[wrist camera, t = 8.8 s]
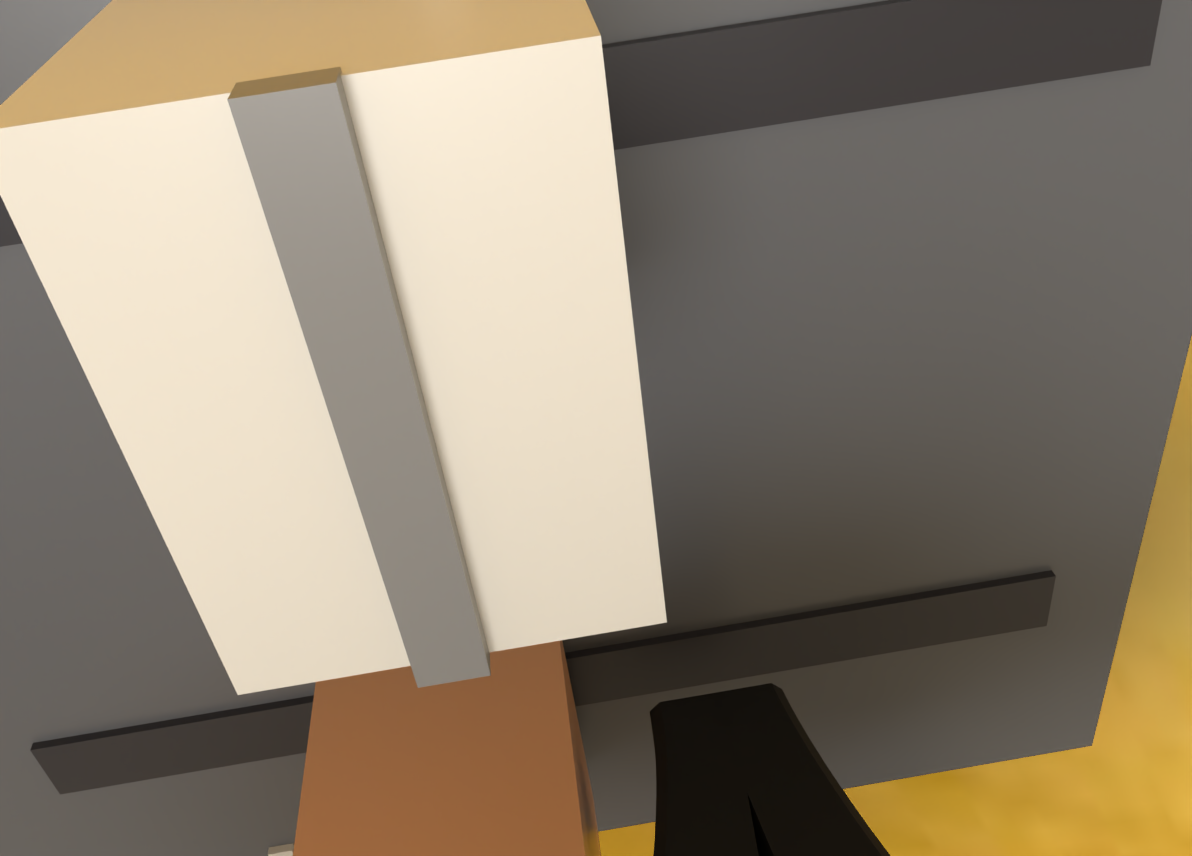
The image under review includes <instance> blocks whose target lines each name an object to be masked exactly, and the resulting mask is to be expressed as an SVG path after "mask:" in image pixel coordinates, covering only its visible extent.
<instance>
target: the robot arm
mask: <svg viewBox="0 0 1192 856" xmlns="http://www.w3.org/2000/svg"><path fill="white" fill-rule="evenodd" d="M650 719H651V726H652V734H653V741H654V748H655V760H656V824H655V844H654V856H890V855H889V853H888V852H887V851H886V849H885V848H884V847H883V845H882V844H881V843H880V841H879V840H878V839H877V837H876V836H875V835H874V833H873V832H872V831H871V829H870V828H869V827H868V825H867V824H866V822H865V821H864V820H863V818H862V817H861V815H860V814H859V812H858V811H857V810H856V808H855V807H854V805H853V804H852V803H851V801H850V800H849V798H848V797H847V795H846V794H845V792H844V791H843V789H842V788H841V786H840V785H839V783H838V782H837V780H836V779H835V777H834V776H833V774H832V773H831V771H830V770H829V768H828V767H827V765H826V764H825V762H824V761H823V759H822V757H821V756H820V754H819V753H818V751H817V750H816V748H815V746H814V745H813V743H812V742H811V740H810V738H809V737H808V735H807V733H806V732H805V730H804V728H803V727H802V725H801V723H800V721H799V720H798V718H797V716H796V714H795V713H794V711H793V709H792V707H791V705H790V703H789V702H788V700H787V698H786V696H785V694H784V692H783V690H782V689H781V688H779V687H778V686H776V685H774V684H772V683H768V684H762V685H757V686H751V687H745V688H739V689H733V690H727V691H722V692H716V693H710V694H704V695H698V696H692V697H687V698H681V699H675V700H669V701H663V702H659V703H658V704H657V705H656V706H655V707H654V708H653V709H652V710H651V711H650Z"/></svg>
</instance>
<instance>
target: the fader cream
mask: <svg viewBox="0 0 1192 856" xmlns="http://www.w3.org/2000/svg"><path fill="white" fill-rule="evenodd" d="M0 196H1V198H2V200H3V202H4V204H5V206H6V208H7V210H8V212H9V215H10V217H11V219H12V221H13V223H14V225H15V227H16V229H17V231H18V234H19V236H20V238H21V240H22V242H23V244H24V246H25V248H26V250H27V252H28V255H29V257H30V259H31V261H32V263H33V265H34V267H35V269H36V271H37V274H38V276H39V278H40V280H41V282H42V284H43V286H44V288H45V290H46V292H47V295H48V297H49V299H50V301H51V303H52V305H53V307H54V309H55V311H56V313H57V316H58V318H59V320H60V322H61V324H62V326H63V328H64V330H65V332H66V335H67V337H68V339H69V341H70V343H71V345H72V347H73V349H74V351H75V353H76V356H77V358H78V360H79V362H80V364H81V366H82V368H83V370H84V372H85V375H86V377H87V379H88V381H89V383H90V385H91V387H92V389H93V391H94V393H95V396H96V398H97V400H98V402H99V404H100V406H101V408H102V410H103V412H104V415H105V417H106V419H107V421H108V423H109V425H110V427H111V429H112V431H113V433H114V436H115V438H116V440H117V442H118V444H119V446H120V448H121V450H122V452H123V455H124V457H125V459H126V461H127V463H128V465H129V467H130V469H131V471H132V473H133V476H134V478H135V480H136V482H137V484H138V486H139V488H140V490H141V492H142V495H143V497H144V499H145V501H146V503H147V505H148V507H149V509H150V511H151V513H152V516H153V518H154V520H155V522H156V524H157V526H158V528H159V530H160V532H161V534H162V537H163V539H164V541H165V543H166V545H167V547H168V549H169V551H170V553H171V556H172V558H173V560H174V562H175V564H176V566H177V568H178V570H179V572H180V574H181V577H182V579H183V581H184V583H185V585H186V587H187V589H188V591H189V593H190V596H191V598H192V600H193V602H194V604H195V606H196V608H197V610H198V612H199V614H200V617H201V619H202V621H203V623H204V625H205V627H206V629H207V631H208V633H209V636H210V638H211V640H212V642H213V644H214V646H215V648H216V650H217V652H218V654H219V657H220V659H221V661H222V663H223V665H224V667H225V669H226V671H227V673H228V676H229V678H230V680H231V682H232V684H233V686H234V688H235V690H236V692H237V694H238V695H241V694H247V693H253V692H259V691H265V690H271V689H277V688H283V687H289V686H295V685H300V684H306V683H312V682H318V681H324V680H330V679H336V678H342V677H348V676H354V675H359V674H365V673H371V672H377V671H383V670H389V669H395V668H401V667H407V666H411V668H412V671H413V674H414V678H415V681H416V684H417V687H418V688H420V687H426V686H432V685H438V684H444V683H450V682H456V681H461V680H467V679H473V678H479V677H485V676H491V670H490V652H495V651H501V650H507V649H513V648H519V647H525V646H531V645H537V644H543V643H549V642H554V641H560V640H566V639H572V638H578V637H584V636H590V635H596V634H602V633H608V632H613V631H619V630H625V629H631V628H637V627H643V626H649V625H655V624H661V623H667V618H666V610H665V601H664V592H663V583H662V574H661V565H660V556H659V547H658V539H657V530H656V521H655V512H654V503H653V494H652V485H651V476H650V467H649V459H648V450H647V441H646V432H645V423H644V414H643V405H642V396H641V388H640V379H639V370H638V361H637V352H636V343H635V334H634V325H633V316H632V308H631V299H630V290H629V281H628V272H627V263H626V254H625V245H624V237H623V228H622V219H621V210H620V201H619V192H618V183H617V174H616V165H615V157H614V148H613V139H612V130H611V121H610V112H609V103H608V94H607V86H606V77H605V68H604V59H603V50H602V41H601V35H600V32H599V30H598V28H597V26H596V23H595V21H594V19H593V16H592V14H591V12H590V10H589V7H588V5H587V3H586V1H585V0H112V1H111V2H110V3H109V4H108V5H107V6H106V7H105V8H104V9H102V10H101V11H100V12H99V13H98V14H97V15H96V16H95V17H94V18H93V19H92V20H91V21H90V22H89V23H88V24H86V25H85V26H84V27H83V28H82V29H81V30H80V31H79V32H78V33H77V34H76V35H75V36H74V37H73V38H72V39H70V40H69V41H68V42H67V43H66V44H65V45H64V46H63V47H62V48H61V49H60V50H59V51H58V52H57V53H56V54H54V55H53V56H52V57H51V58H50V59H49V60H48V61H47V62H46V63H45V64H44V65H43V66H42V67H41V68H40V69H38V70H37V71H36V72H35V73H34V74H33V75H32V76H31V77H30V78H29V79H28V80H27V81H26V82H25V83H24V84H23V85H21V86H20V87H19V88H18V89H17V90H16V91H15V92H14V93H13V94H12V95H11V96H10V97H9V98H8V99H7V100H5V101H4V102H3V103H2V104H1V105H0Z"/></svg>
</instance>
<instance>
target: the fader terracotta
mask: <svg viewBox="0 0 1192 856" xmlns="http://www.w3.org/2000/svg"><path fill="white" fill-rule="evenodd" d="M490 670H491V676H485V677H479V678H473V679H467V680H461V681H456V682H450V683H444V684H438V685H432V686H426V687H420V688H418V687H417V684H416V681H415V678H414V674H413V671H412V668H411V666H407V667H401V668H395V669H389V670H383V671H377V672H371V673H365V674H359V675H354V676H348V677H342V678H336V679H330V680H324V681H318V682H316V684H315V691H314V699H313V706H312V714H311V721H310V729H309V737H308V744H307V752H306V759H305V767H304V775H303V782H302V790H301V797H300V805H299V812H298V820H297V828H296V835H295V843H294V850H293V856H601V852H600V844H599V837H598V829H597V822H596V814H595V806H594V799H593V794H592V789H591V784H590V779H589V773H588V768H587V763H586V758H585V753H584V748H583V743H582V738H581V733H580V728H579V723H578V718H577V713H576V708H575V702H574V697H573V692H572V687H571V682H570V677H569V672H568V667H567V662H566V657H565V652H564V647H563V642H562V640H560V641H554V642H549V643H543V644H537V645H531V646H525V647H519V648H513V649H507V650H501V651H495V652H490Z"/></svg>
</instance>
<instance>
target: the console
mask: <svg viewBox="0 0 1192 856" xmlns="http://www.w3.org/2000/svg"><path fill="white" fill-rule="evenodd" d="M111 1H112V0H0V105H1V104H2V103H3V102H4V101H5V100H7V99H8V98H9V97H10V96H11V95H12V94H13V93H14V92H15V91H16V90H17V89H18V88H19V87H20V86H21V85H23V84H24V83H25V82H26V81H27V80H28V79H29V78H30V77H31V76H32V75H33V74H34V73H35V72H36V71H37V70H38V69H40V68H41V67H42V66H43V65H44V64H45V63H46V62H47V61H48V60H49V59H50V58H51V57H52V56H53V55H54V54H56V53H57V52H58V51H59V50H60V49H61V48H62V47H63V46H64V45H65V44H66V43H67V42H68V41H69V40H70V39H72V38H73V37H74V36H75V35H76V34H77V33H78V32H79V31H80V30H81V29H82V28H83V27H84V26H85V25H86V24H88V23H89V22H90V21H91V20H92V19H93V18H94V17H95V16H96V15H97V14H98V13H99V12H100V11H101V10H102V9H104V8H105V7H106V6H107V5H108V4H109V3H110V2H111ZM585 1H586V3H587V5H588V7H589V10H590V12H591V14H592V16H593V19H594V21H595V23H596V26H597V28H598V30H599V32H600V35H601V41H602V50H603V59H604V68H605V77H606V86H607V94H608V103H609V112H610V121H611V130H612V139H613V148H614V157H615V165H616V174H617V183H618V192H619V201H620V210H621V219H622V228H623V237H624V245H625V254H626V263H627V272H628V281H629V290H630V299H631V308H632V316H633V325H634V334H635V343H636V352H637V361H638V370H639V379H640V388H641V396H642V405H643V414H644V423H645V432H646V441H647V450H648V459H649V467H650V476H651V485H652V494H653V503H654V512H655V521H656V530H657V539H658V547H659V556H660V565H661V574H662V583H663V592H664V601H665V610H666V618H667V623H661V624H655V625H649V626H643V627H637V628H631V629H625V630H619V631H613V632H608V633H602V634H596V635H590V636H584V637H578V638H572V639H566V640H562V642H563V647H564V652H565V657H566V662H567V667H568V672H569V677H570V682H571V687H572V692H573V697H574V702H575V708H576V713H577V718H578V723H579V728H580V733H581V738H582V743H583V748H584V753H585V758H586V763H587V768H588V773H589V779H590V784H591V789H592V794H593V799H594V806H595V814H596V822H597V829H598V831H604V830H610V829H615V828H621V827H627V826H633V825H638V824H644V823H650V822H656V760H655V748H654V741H653V734H652V726H651V719H650V711H651V710H652V709H653V708H654V707H655V706H656V705H657V704H658V703H659V702H663V701H669V700H675V699H681V698H687V697H692V696H698V695H704V694H710V693H716V692H722V691H727V690H733V689H739V688H745V687H751V686H757V685H762V684H768V683H772V684H774V685H776V686H778V687H779V688H781V689H782V690H783V692H784V694H785V696H786V698H787V700H788V702H789V703H790V705H791V707H792V709H793V711H794V713H795V714H796V716H797V718H798V720H799V721H800V723H801V725H802V727H803V728H804V730H805V732H806V733H807V735H808V737H809V738H810V740H811V742H812V743H813V745H814V746H815V748H816V750H817V751H818V753H819V754H820V756H821V757H822V759H823V761H824V762H825V764H826V765H827V767H828V768H829V770H830V771H831V773H832V774H833V776H834V777H835V779H836V780H837V782H838V783H839V785H840V786H841V788H842V789H845V788H851V787H857V786H862V785H868V784H874V783H880V782H885V781H891V780H897V779H903V778H908V777H914V776H920V775H926V774H931V773H937V772H943V771H949V770H954V769H960V768H966V767H972V766H977V765H983V764H989V763H995V762H1000V761H1006V760H1012V759H1018V758H1023V757H1029V756H1035V755H1041V754H1046V753H1052V752H1058V751H1064V750H1069V749H1075V748H1081V747H1086V746H1092V743H1093V739H1094V735H1095V731H1096V726H1097V722H1098V718H1099V714H1100V710H1101V706H1102V702H1103V698H1104V694H1105V689H1106V685H1107V681H1108V677H1109V673H1110V669H1111V665H1112V661H1113V657H1114V652H1115V648H1116V644H1117V640H1118V636H1119V632H1120V628H1121V624H1122V620H1123V615H1124V611H1125V607H1126V603H1127V599H1128V595H1129V591H1130V587H1131V582H1132V578H1133V574H1134V570H1135V566H1136V562H1137V558H1138V554H1139V550H1140V545H1141V541H1142V537H1143V533H1144V529H1145V525H1146V521H1147V517H1148V513H1149V508H1150V504H1151V500H1152V496H1153V492H1154V488H1155V484H1156V480H1157V476H1158V471H1159V467H1160V463H1161V459H1162V455H1163V451H1164V447H1165V443H1166V438H1167V434H1168V430H1169V426H1170V422H1171V418H1172V414H1173V410H1174V406H1175V401H1176V397H1177V393H1178V389H1179V385H1180V381H1181V377H1182V373H1183V369H1184V364H1185V360H1186V356H1187V352H1188V348H1189V344H1190V340H1191V336H1192V0H585ZM315 684H316V682H312V683H306V684H300V685H295V686H289V687H283V688H277V689H271V690H265V691H259V692H253V693H247V694H241V695H238V694H237V692H236V690H235V688H234V686H233V684H232V682H231V680H230V678H229V676H228V673H227V671H226V669H225V667H224V665H223V663H222V661H221V659H220V657H219V654H218V652H217V650H216V648H215V646H214V644H213V642H212V640H211V638H210V636H209V633H208V631H207V629H206V627H205V625H204V623H203V621H202V619H201V617H200V614H199V612H198V610H197V608H196V606H195V604H194V602H193V600H192V598H191V596H190V593H189V591H188V589H187V587H186V585H185V583H184V581H183V579H182V577H181V574H180V572H179V570H178V568H177V566H176V564H175V562H174V560H173V558H172V556H171V553H170V551H169V549H168V547H167V545H166V543H165V541H164V539H163V537H162V534H161V532H160V530H159V528H158V526H157V524H156V522H155V520H154V518H153V516H152V513H151V511H150V509H149V507H148V505H147V503H146V501H145V499H144V497H143V495H142V492H141V490H140V488H139V486H138V484H137V482H136V480H135V478H134V476H133V473H132V471H131V469H130V467H129V465H128V463H127V461H126V459H125V457H124V455H123V452H122V450H121V448H120V446H119V444H118V442H117V440H116V438H115V436H114V433H113V431H112V429H111V427H110V425H109V423H108V421H107V419H106V417H105V415H104V412H103V410H102V408H101V406H100V404H99V402H98V400H97V398H96V396H95V393H94V391H93V389H92V387H91V385H90V383H89V381H88V379H87V377H86V375H85V372H84V370H83V368H82V366H81V364H80V362H79V360H78V358H77V356H76V353H75V351H74V349H73V347H72V345H71V343H70V341H69V339H68V337H67V335H66V332H65V330H64V328H63V326H62V324H61V322H60V320H59V318H58V316H57V313H56V311H55V309H54V307H53V305H52V303H51V301H50V299H49V297H48V295H47V292H46V290H45V288H44V286H43V284H42V282H41V280H40V278H39V276H38V274H37V271H36V269H35V267H34V265H33V263H32V261H31V259H30V257H29V255H28V252H27V250H26V248H25V246H24V244H23V242H22V240H21V238H20V236H19V234H18V231H17V229H16V227H15V225H14V223H13V221H12V219H11V217H10V215H9V212H8V210H7V208H6V206H5V204H4V202H3V200H2V198H1V196H0V856H293V850H294V843H295V835H296V828H297V820H298V812H299V805H300V797H301V790H302V782H303V775H304V767H305V759H306V752H307V744H308V737H309V729H310V721H311V714H312V706H313V699H314V691H315Z"/></svg>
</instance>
